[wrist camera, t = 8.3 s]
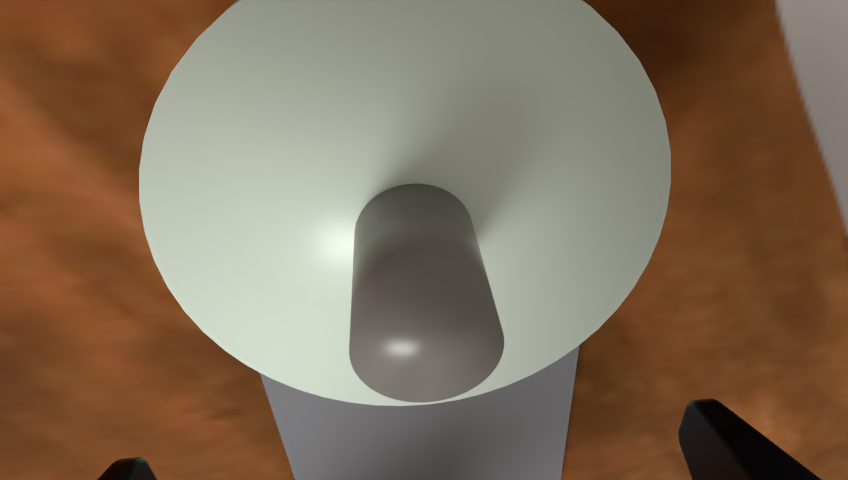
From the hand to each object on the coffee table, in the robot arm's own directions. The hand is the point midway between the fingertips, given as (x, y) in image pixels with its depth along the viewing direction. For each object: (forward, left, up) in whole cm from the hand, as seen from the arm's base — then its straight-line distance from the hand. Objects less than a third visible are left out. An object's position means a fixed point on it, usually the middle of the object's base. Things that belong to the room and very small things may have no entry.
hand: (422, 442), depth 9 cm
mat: (-14, 0, -12) cm, 18 cm away
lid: (0, 0, -7) cm, 7 cm away
